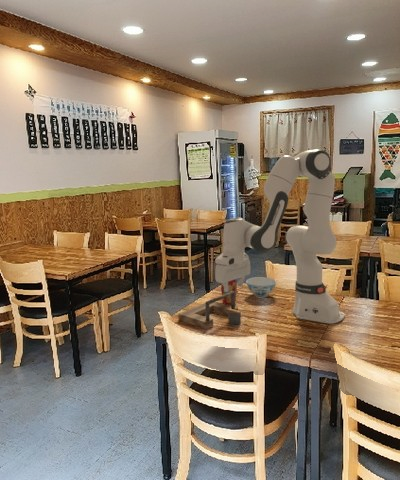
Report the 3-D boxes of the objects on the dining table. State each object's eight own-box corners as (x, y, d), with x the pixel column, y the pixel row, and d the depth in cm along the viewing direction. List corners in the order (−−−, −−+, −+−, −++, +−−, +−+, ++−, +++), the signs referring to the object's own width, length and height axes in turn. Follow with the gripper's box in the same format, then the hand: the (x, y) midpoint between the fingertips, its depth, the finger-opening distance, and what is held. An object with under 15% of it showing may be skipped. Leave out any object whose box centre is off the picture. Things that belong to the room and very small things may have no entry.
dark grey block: (243, 322, 174) (243, 310, 173) (236, 326, 171) (236, 313, 170) (233, 319, 178) (233, 307, 177) (226, 323, 174) (226, 310, 173)
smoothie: (240, 301, 201) (239, 262, 197) (234, 306, 193) (233, 266, 189) (224, 299, 204) (223, 260, 200) (218, 304, 197) (217, 264, 193)
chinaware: (280, 293, 211) (280, 279, 209) (269, 302, 198) (269, 287, 197) (253, 289, 219) (253, 275, 217) (241, 297, 206) (241, 283, 205)
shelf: (237, 313, 184) (237, 290, 182) (206, 329, 168) (205, 303, 166) (211, 306, 195) (210, 283, 193) (178, 320, 179) (177, 295, 176)
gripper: (242, 251, 179) (242, 282, 181) (212, 259, 164) (212, 292, 166) (254, 253, 174) (253, 284, 177) (224, 262, 159) (224, 296, 162)
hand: (233, 288), depth 171 cm, fingers open, 8 cm apart
